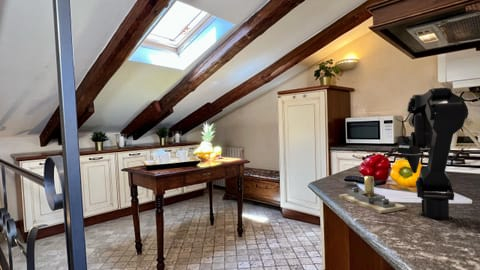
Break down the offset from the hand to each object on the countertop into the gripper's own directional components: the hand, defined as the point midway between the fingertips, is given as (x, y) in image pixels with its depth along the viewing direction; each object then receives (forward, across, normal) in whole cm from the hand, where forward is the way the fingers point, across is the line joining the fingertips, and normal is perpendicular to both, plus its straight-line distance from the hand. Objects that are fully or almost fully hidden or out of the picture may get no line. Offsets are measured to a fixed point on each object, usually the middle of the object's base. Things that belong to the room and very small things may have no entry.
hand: (424, 171), depth 97 cm
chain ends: (+12, +16, -10) cm, 22 cm away
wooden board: (+12, +16, -10) cm, 22 cm away
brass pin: (+11, +16, -10) cm, 21 cm away
